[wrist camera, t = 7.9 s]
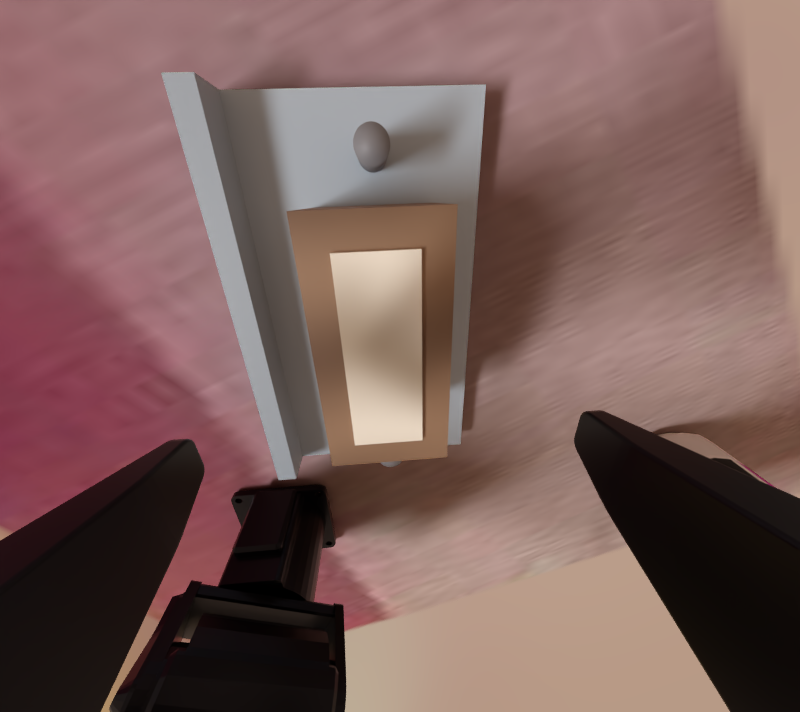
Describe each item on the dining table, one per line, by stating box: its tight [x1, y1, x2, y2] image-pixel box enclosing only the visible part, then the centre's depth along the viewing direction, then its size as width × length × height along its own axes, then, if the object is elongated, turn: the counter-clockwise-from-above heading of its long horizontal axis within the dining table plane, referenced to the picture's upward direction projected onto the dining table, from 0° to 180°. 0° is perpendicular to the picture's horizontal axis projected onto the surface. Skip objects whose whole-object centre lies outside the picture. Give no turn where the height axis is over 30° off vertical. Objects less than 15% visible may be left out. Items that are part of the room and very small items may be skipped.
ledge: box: [161, 72, 486, 480], centre depth 15 cm, size 18×11×4 cm, turn 2°
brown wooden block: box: [286, 203, 458, 466], centre depth 14 cm, size 10×5×5 cm, turn 2°
